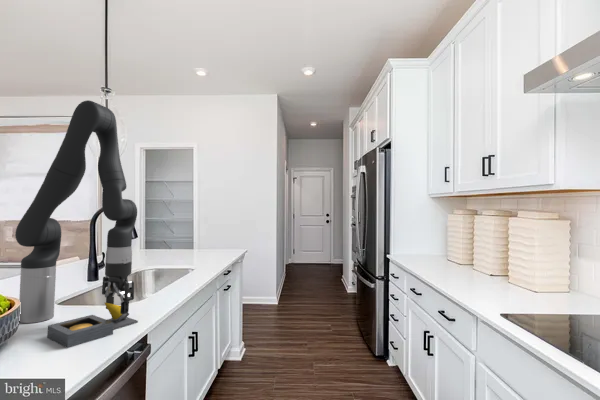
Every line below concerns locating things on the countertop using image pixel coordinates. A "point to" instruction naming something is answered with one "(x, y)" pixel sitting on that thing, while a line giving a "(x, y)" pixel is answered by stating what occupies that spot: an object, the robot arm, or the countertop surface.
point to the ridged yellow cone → (116, 312)
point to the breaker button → (79, 326)
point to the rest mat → (123, 322)
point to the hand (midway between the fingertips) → (116, 311)
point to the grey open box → (79, 331)
